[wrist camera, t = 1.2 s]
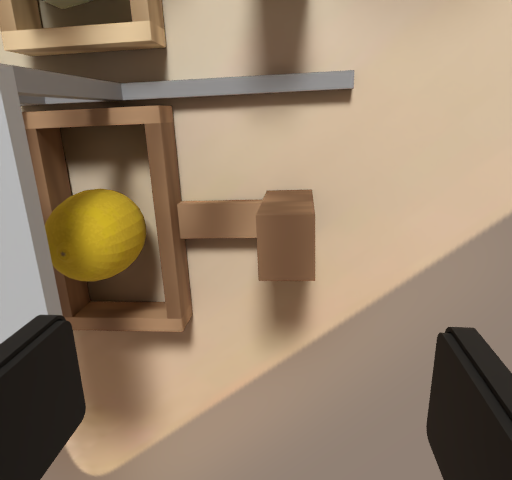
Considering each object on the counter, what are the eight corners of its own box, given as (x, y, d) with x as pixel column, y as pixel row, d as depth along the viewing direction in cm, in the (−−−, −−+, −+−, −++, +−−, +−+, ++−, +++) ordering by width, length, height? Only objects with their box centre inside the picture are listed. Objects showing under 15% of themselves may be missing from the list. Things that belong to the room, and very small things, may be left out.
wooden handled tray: (311, 99, 26) (314, 94, 19) (312, 315, 30) (315, 373, 23) (42, 112, 28) (-40, 112, 21) (80, 313, 32) (21, 365, 25)
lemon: (169, 194, 29) (121, 224, 21) (152, 264, 30) (102, 314, 23) (95, 169, 29) (20, 189, 21) (81, 240, 30) (8, 283, 23)
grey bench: (352, 71, 25) (394, 35, 14) (347, 295, 29) (375, 411, 18) (19, 90, 28) (-181, 73, 16) (60, 294, 32) (-75, 394, 20)
